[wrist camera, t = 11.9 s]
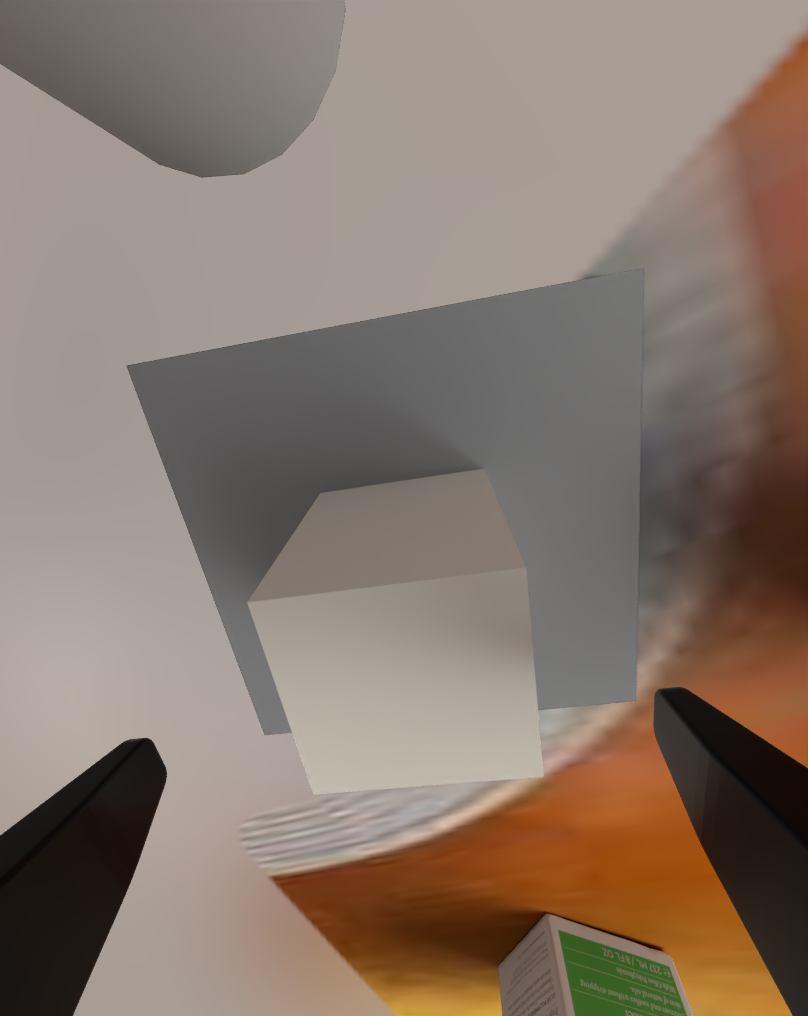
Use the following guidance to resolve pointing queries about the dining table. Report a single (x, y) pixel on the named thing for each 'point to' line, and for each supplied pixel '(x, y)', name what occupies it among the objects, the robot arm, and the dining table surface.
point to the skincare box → (587, 975)
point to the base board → (429, 456)
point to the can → (182, 71)
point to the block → (404, 638)
